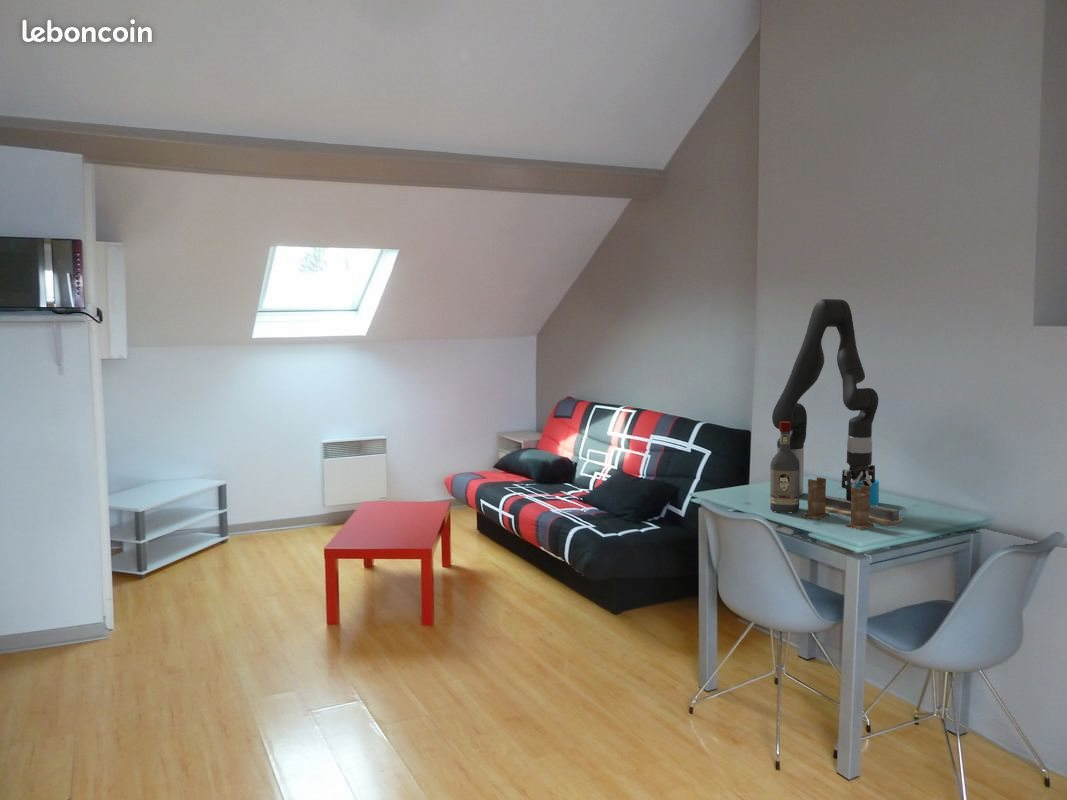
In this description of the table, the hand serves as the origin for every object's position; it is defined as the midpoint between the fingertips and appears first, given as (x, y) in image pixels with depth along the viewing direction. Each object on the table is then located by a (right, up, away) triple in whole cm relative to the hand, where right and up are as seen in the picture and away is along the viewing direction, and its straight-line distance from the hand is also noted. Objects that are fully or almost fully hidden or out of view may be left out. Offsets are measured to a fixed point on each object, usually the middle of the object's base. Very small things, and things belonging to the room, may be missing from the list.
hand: (858, 498), depth 269 cm
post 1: (-13, -6, +1) cm, 14 cm away
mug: (+8, -4, +17) cm, 20 cm away
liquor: (-21, -5, +10) cm, 24 cm away
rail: (0, -5, 0) cm, 5 cm away
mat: (0, -6, 0) cm, 6 cm away
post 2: (-4, -7, -12) cm, 15 cm away
